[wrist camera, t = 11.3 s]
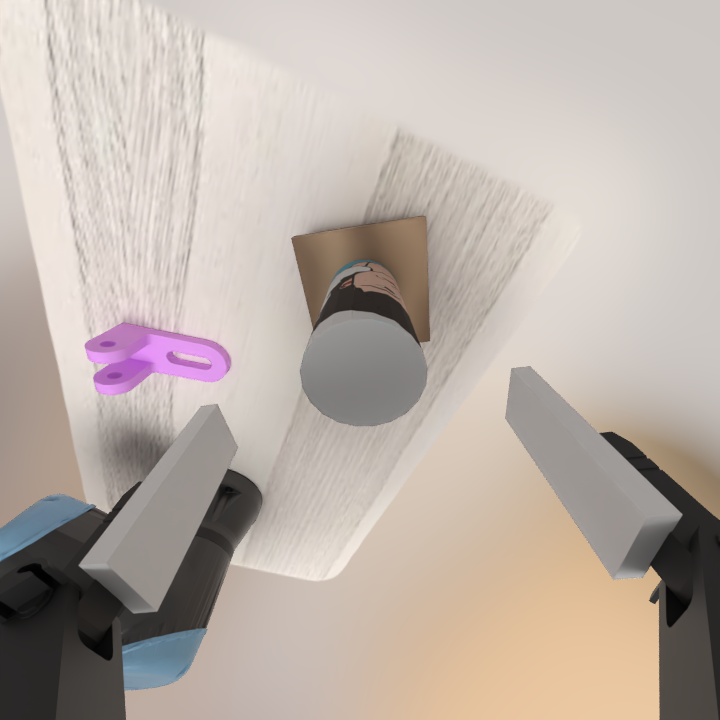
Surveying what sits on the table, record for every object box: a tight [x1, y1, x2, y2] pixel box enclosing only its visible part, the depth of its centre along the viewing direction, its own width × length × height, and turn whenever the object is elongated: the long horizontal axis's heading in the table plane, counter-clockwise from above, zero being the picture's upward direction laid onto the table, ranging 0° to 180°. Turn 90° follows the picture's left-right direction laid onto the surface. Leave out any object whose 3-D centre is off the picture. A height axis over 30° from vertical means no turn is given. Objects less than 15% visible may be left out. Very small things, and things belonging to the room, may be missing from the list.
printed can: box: [300, 260, 428, 426], centre depth 22 cm, size 7×7×15 cm
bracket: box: [85, 323, 230, 395], centre depth 35 cm, size 13×6×7 cm, turn 77°
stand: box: [291, 216, 430, 342], centre depth 31 cm, size 12×12×5 cm
